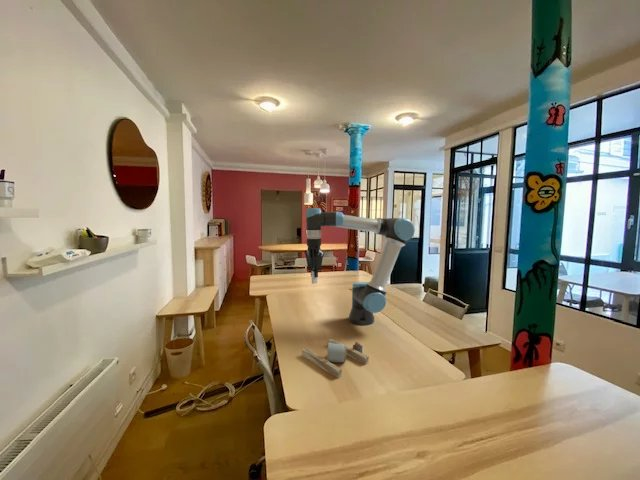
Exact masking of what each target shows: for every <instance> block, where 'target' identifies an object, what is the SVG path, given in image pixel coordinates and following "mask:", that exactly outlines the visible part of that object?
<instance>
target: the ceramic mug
mask: <svg viewBox="0 0 640 480" xmlns="http://www.w3.org/2000/svg"><path fill="white" fill-rule="evenodd" d="M343 344H344V343H342V344H335V343H329V342H328V343H327V355H326V360H328V361H329V362H330V363H345V362H346V361H347V355H346V346H347V345H346V344H344V345H343ZM345 345H346V346H345Z"/></svg>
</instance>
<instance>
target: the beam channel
mask: <svg viewBox="0 0 640 480" xmlns="http://www.w3.org/2000/svg"><path fill="white" fill-rule="evenodd" d="M328 343H335V344H343V345H345V346H346V356H348V357H349V358H352V359H354V360H355V361H357V362H359V363H361V364H363V365H365V366H366V365H367V364H369V360H370V359H369V357H370V356H368V355H366V354H365V353H363V345H361V342H360V341H355V343H354V344H353V345H352V347H350V346H348V345H346V344H344V343H342V342H340V341H338V340H336V339H333V338H329V339H328ZM301 357H303V358H305V359H306V360H308V361H310V362H311V363H313V364H314V365H316V366H317V367H319V368H321V369H323V371H325V372H327V373H328V374H331V375H332V376H333V377H335V378H336V379H340V378H342V375H343V369H342V368H340V367H339V366H337V365H336V364H334V363H333V362H329V361H328V360H327V359H325V358H324V357H321V355H318V354H317V353H315V352H313V351H312V350H310V349H308V348H306V347H305V348H302V349H301Z"/></svg>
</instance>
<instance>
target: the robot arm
mask: <svg viewBox="0 0 640 480" xmlns="http://www.w3.org/2000/svg"><path fill="white" fill-rule="evenodd" d="M305 214H306V216H305V219H306V221H305V222H306V246H307V250H304V254H305V258H306V264H307V269H308V270H309V271H310V277H311V284H313V285H315V284H318V277H319V271H321V270H322V265H323V259H324V256H325V252H323V251H322V248H321V246H322V239H321V238H322V227H335V228H342V229H349V230H357V231H363V232H370V233H371V232H372V233H374V234H375V235H380V236H384V240H385V241H386V242H385V244H384V246H383V249H382V251H381V255H380V256H379V257H380V258H379V259H378V262H377V265H376V267H375V269H374V271H373V274H372V277H371V280H370V281H369V282H367V281H361V282H360V281H358V282H354V283H353V284H352V288H351V295H352V296H351V297H352V299H351V310H350V313H349V316H348V321H349V322H350V323H352V324H355V325H362V326H365V325H368V326H369V325H372V324H374V322H375V316H374V314H376V313H378V314H379V313H380V312H382V311H383V310H384V309H385V307H386V305H387V299H386V295H387V289H386V287H387V285H388V282H389V279H390V276H391V274H392V271H393V270H394V268H395V267H394V266H395V264H396V262H397V260H398V257H399V254H400V252H401V250H402V248H403V247H405V246H406V244H407V242H408V241H409V240H410V239H412V238H413V237H414V234H415V231H416V229H415V225H414V223H413V221H412V220H411V219H408V218H404V217H391V218H390V217H388V218H383V217H382V218H381V217H377V218H376V219H375V218H369V217H362V216H354V215H348V214H344V213H343V212H342V211H322V210H321V208H319V207H318V208H317V207H312V208H311V207H308V208H307V209H306V213H305Z"/></svg>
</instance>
